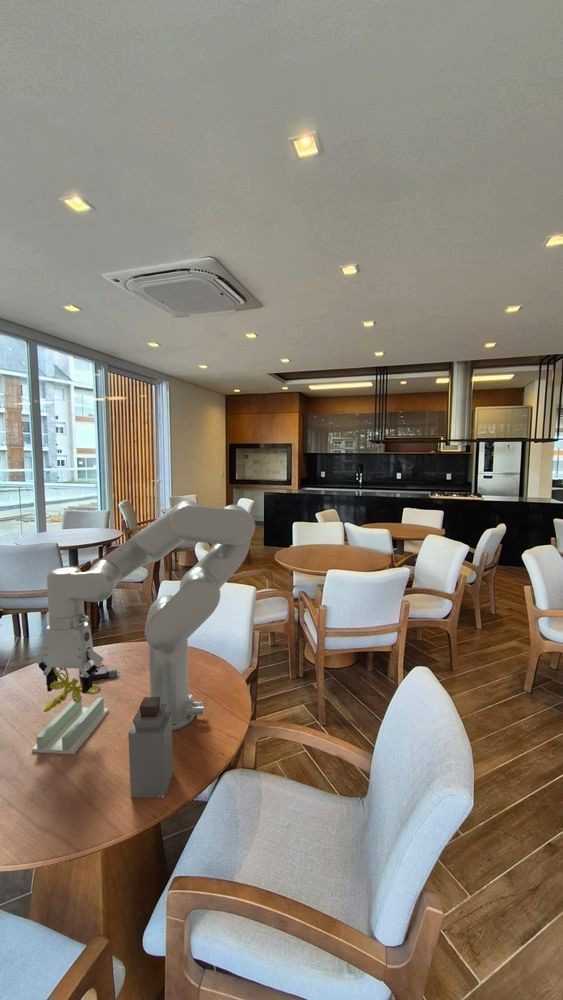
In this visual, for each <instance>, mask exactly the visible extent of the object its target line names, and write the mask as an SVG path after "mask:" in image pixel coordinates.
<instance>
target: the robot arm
mask: <svg viewBox="0 0 563 1000" xmlns="http://www.w3.org/2000/svg"><path fill="white" fill-rule="evenodd" d="M255 531H256V522H255V519H254V517H253V516H252V514H251V513H250V512H249V511H248V510H246V509H245V508H244V507H242V506H241V505H238V504H229V505H227V506H224V507H223V508H221V507H212V506H205V505H204V506H202V505H200V504H199V503H197V502H196V501H194V500H184V501H181V502H178V503H177V504H176V505H175V506H173V507H172V508H170V509H169V510H167V511H165V513H163V514H162V515H161V516H159V517H158V518H156V519H155V520H154V521H153V522H151V523H150V524H147V526H145V527H143V528H142V529H141V530H139V531H138V532H137V533H135V534H134V535H133V536H131V537H130V538H129V539H128V540H126V541H125V542H123V543H122V544H121V545H119V546H117V547H116V548H114V550H112V551H111V552H110V553H108V554H106V555H105V556H104V557H102V558H101V559H100V560H98V561H97V562H95V564H93V565H92V566H91V567H90V568H89V570H86V571H84V572H83V571H82V570H81V569H80V568H78V567H72V566H68V567H67V566H65V567H59V568H55V569H53V570H51V571H49V573H48V574H47V577H46V583H47V584H46V587H47V606H48V607H47V608H48V626H47V627H46V630H45V631H46V632H45V637H44V648H43V650H42V651H40V652H39V653H37V654H35V656H33V659H34V661H35V662H36V664H37V665H38V668H39V669H40V670H41V671H42V672H43V676H45V678H46V679H45V683H46V687H47V688H46V690H47V692H52V691H53V690H54V689H51V688H50V684H51V683H52V682H54V681H55V682H56V681H58V680H59V678H58V677H57V676H56V674H55V672H54V668H53V667H55V668H56V669H60V668H63V669H64V668H66V669H74V670H75V669H76V670H77V669H78V671H79V670H80V671H81V673H82V674H83V675H84V677H83V678H82V683H81V685H82V688H81V689H82V692H81V694H85V693H87V691H90V689H91V687H92V685H93V684H94V683H93V682H94V681H93V677H92V673H93V672H94V671H95V670H96V669H97V668H98V667H99V665H100V664H101V663H102V662H103V661H104V658H103V657H102V656H101V655H100V654H99V653H97V652H96V651H94V645H93V638H92V633H91V628H90V625H89V623H88V622H89V621H90V616H89V615H86V613H85V602H89V603H90V602H91V603H98V602H103V601H104V602H105V601H106V600H107V599H109V598H111V596H112V595H113V593H114V592H115V589H116V587H117V585H118V584H119V583H120V582H121V581H122V580H123V579H125V578H126V577H127V576H129V575H130V574H132V573H133V572H134V571H136V570H137V569H140V568H141V567H143V566H144V565H146V564H150V563H151V564H152V563H156V562H158V561H160V560H162V559H164V557H165V556H167V555H168V554H170V552H172V551H173V550H174V549H176V548H178V547H179V546H180V545H182V544H183V543H184V542H195V543H202V544H214V545H213V546H212V547H211V548H210V549H209V551H208V552H207V553H206V554H205V555H204V556H203V557H202V558H201V559H200V560H199V561H197V563H196V564H195V565H194V566H193V567H192V568H190V569H189V570H188V571H187V572H185V574H184V575H183V577H181V580H180V583H179V590H178V591H177V592H176V593H175V594H173V595H171V594H169V595H168V594H167V595H166V594H165V595H161V596H160V597H158V598H156V599H155V600H154V601H153V602H152V604H151V605H150V607H149V609H148V612H147V616H146V623H145V626H144V627H145V628H144V637H145V640H146V642H147V643H148V664H149V665H148V666H149V667H148V668H149V670H148V671H149V694H150V695H149V697H160V704H167V707H166V712H172V732H173V731H174V732H175V731H177V730H179V729H182V728H183V727H185V726H187V725H188V724H190V723H192V721H193V719H194V718H195V717H196V716H195V715H199V716H204V715H205V711H206V706H204V705H203V703H204V702H203V701H195V700H193V694H189V692H190V691H189V661H188V660H189V651H188V650H189V649H188V646H189V645H188V643H189V642H188V639H189V638H190V637H191V635H193V634H194V633H195V632H197V630H198V629H199V628H200V627H201V626H202V625H203V624H204V623H205V622H206V621H207V620H208V619H209V618H211V616H212V615H213V613H214V612H215V611H216V609H217V608H218V605H219V604H220V600H221V588H222V587H223V585H224V584H226V583H227V581H228V580H229V579H230V578H231V577H232V575H234V574H235V572H236V571H237V570H238V569H239V568H240V567H241V566H242V564H243V563H244V561H245V559H247V558H246V557H247V556H248V553H249V550H250V547H251V540H252V537H254V534H255ZM90 661H93V664H92V663H91V662H90ZM85 667H86V668H87V669H86V668H85ZM52 686H53V685H52ZM55 687H56V686H55ZM85 695H86V694H85Z"/></svg>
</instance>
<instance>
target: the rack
mask: <svg viewBox="0 0 563 1000" xmlns="http://www.w3.org/2000/svg"><path fill="white" fill-rule="evenodd" d="M82 698H83V696H82V697H81V701H80V702H79V703H76V702H74V701H73V699H72V700H71V701H70V702H69V703H68V704H67V705H66V706H65V707H64V708H63V709H62V710H61V712H59V713H58V714H57V715H56V716H55V717H54V718H53V719H52V720H51V721H50V723H48V724H47V725H46V727H44V728H43V729H42V730H41V732H39V734H38V735H37V736H36V744H35V745H34V746H33V747H32V748H31V753H42V754H43V753H45V754H59V755H60V754H62V755H64V754H65V755H75V754H76V753H77V751H78V750H79V749H80V748H81V747H82V746H83V744H84V743H85V741H87V739H88V738H89V737H90V735H91V734H92V733H93V732H94V730H95V729H96V728H97V727H98V726H99V725H100V723H101V722H102V720H103V719H104V718H105V716H106V715H107V714H108V713H109V709H110V708H108V707H107V708H105V705H104V704H105V703H104V697H102V696H101V697H100V696H99V697H97V698H96V699H95V700H94V701H93V702H92V704H91V705H90V706H89V707H87V706H83V702H82V701H83V700H82ZM75 699H76V698H75Z"/></svg>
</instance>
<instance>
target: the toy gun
mask: <svg viewBox="0 0 563 1000" xmlns="http://www.w3.org/2000/svg"><path fill="white" fill-rule="evenodd" d="M85 668H86V666H85ZM86 669H87V668H86ZM87 670H88V669H87ZM78 671H79V680H80V681H79V682H80V683H81V684H82V678H83V677H84V675H83V674H82V673H81V671H80V670H79V669H78ZM120 673H121V671H118V668H112V669H109V670H108V665H104V664H103V663H102V662H101V664H100V665H99V667H98V668H97V669H96V670H95V671H94V672H93V673H92V677H93V682H98V681H105V680H108V679H113V678H116V677H118V674H120Z"/></svg>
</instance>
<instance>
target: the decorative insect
mask: <svg viewBox="0 0 563 1000" xmlns="http://www.w3.org/2000/svg"><path fill="white" fill-rule="evenodd" d="M53 668H54V672H55V674H56V676H57V677H58V681H56V682H55V681H54V682H52V683H51V684H50V688H51V689H53V690H55V691H56V690H62V689H63V691H61V692H60V694H59V695H57V697H55V698H54V699H53V700H49V701H48V702H47V703H46V705H45V707H44V709H43V712H44V713H48V712H50V710H52V708H56V706H58V705H60V704H62V702H63V701H66V699H67V696H68V694H70V693H71V692H72V694H71V697H72V700H73V701H74V702H76V703H79V702H80V701H81V697H82V698H83V696H82V684H80V685H77V684H78V683H79V679H77V677H73V678H72V680H70V679H69V673H68V670H67V669H68V668H59V669H57V668H55V667H53ZM61 671H64V673H63V672H61ZM61 675H62V676H61ZM52 685H53V686H52ZM55 686H56V687H55ZM92 690H94V691H92ZM101 691H102V687H101V686H99V685H98V684H95V683H93V685H92V687H91V688H90V689H89V690H88V691H87V693H85V695H96V694H100V692H101ZM75 698H76V699H75Z"/></svg>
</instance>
